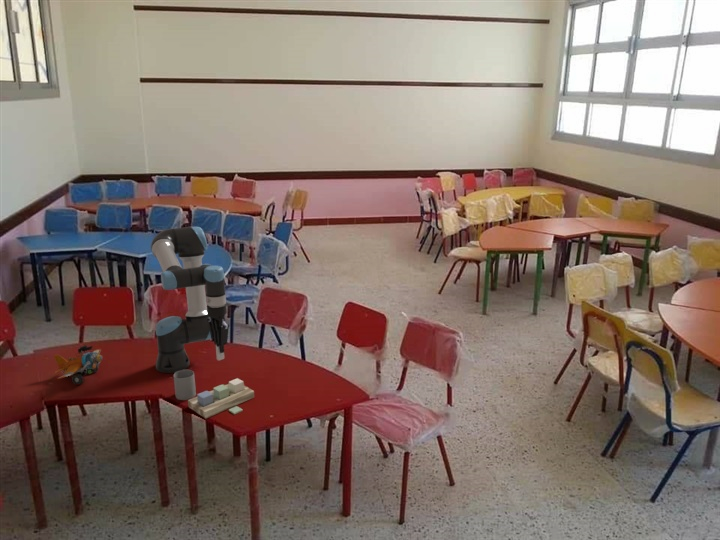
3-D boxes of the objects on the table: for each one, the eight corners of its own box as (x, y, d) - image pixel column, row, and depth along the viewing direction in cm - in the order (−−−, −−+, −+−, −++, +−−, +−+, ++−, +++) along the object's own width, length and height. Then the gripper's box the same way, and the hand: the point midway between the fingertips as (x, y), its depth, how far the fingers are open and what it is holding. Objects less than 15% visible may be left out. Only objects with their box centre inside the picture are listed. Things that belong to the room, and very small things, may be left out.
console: (188, 406, 238) (187, 400, 237) (236, 386, 255) (236, 380, 254) (205, 418, 230) (205, 412, 229) (254, 397, 246) (254, 391, 245)
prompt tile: (228, 410, 235) (228, 409, 235) (237, 407, 238) (236, 405, 238) (234, 414, 233) (234, 413, 233) (242, 410, 236) (242, 409, 235)
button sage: (213, 397, 241) (213, 387, 240) (223, 393, 245) (222, 384, 243) (219, 401, 238) (219, 391, 237) (229, 397, 242) (228, 387, 240)
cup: (199, 394, 248) (197, 373, 245) (182, 402, 242) (180, 380, 239) (188, 388, 253) (186, 367, 250) (171, 395, 247) (169, 374, 244)
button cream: (229, 391, 247) (228, 381, 245) (238, 387, 250) (237, 378, 248) (235, 394, 244) (234, 385, 242) (244, 391, 247) (243, 381, 245)
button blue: (197, 404, 236) (197, 394, 235) (207, 400, 239) (206, 390, 238) (203, 408, 233) (203, 398, 232) (213, 404, 236) (212, 394, 235)
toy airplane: (90, 388, 246) (75, 357, 242) (45, 399, 250) (30, 369, 247) (126, 358, 273) (113, 329, 270) (85, 368, 278) (72, 340, 275)
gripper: (199, 303, 232) (203, 357, 239) (217, 311, 224) (222, 366, 230) (215, 298, 238) (219, 351, 244) (233, 306, 229) (237, 360, 236)
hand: (220, 359), depth 237 cm, fingers closed
